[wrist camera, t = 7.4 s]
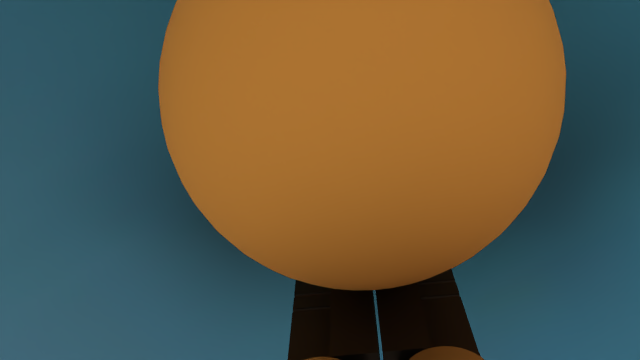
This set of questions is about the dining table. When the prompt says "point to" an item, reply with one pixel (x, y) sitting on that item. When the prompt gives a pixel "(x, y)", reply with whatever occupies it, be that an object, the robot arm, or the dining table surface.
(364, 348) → the robot arm
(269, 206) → the ball
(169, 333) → the dining table surface
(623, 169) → the dining table surface
